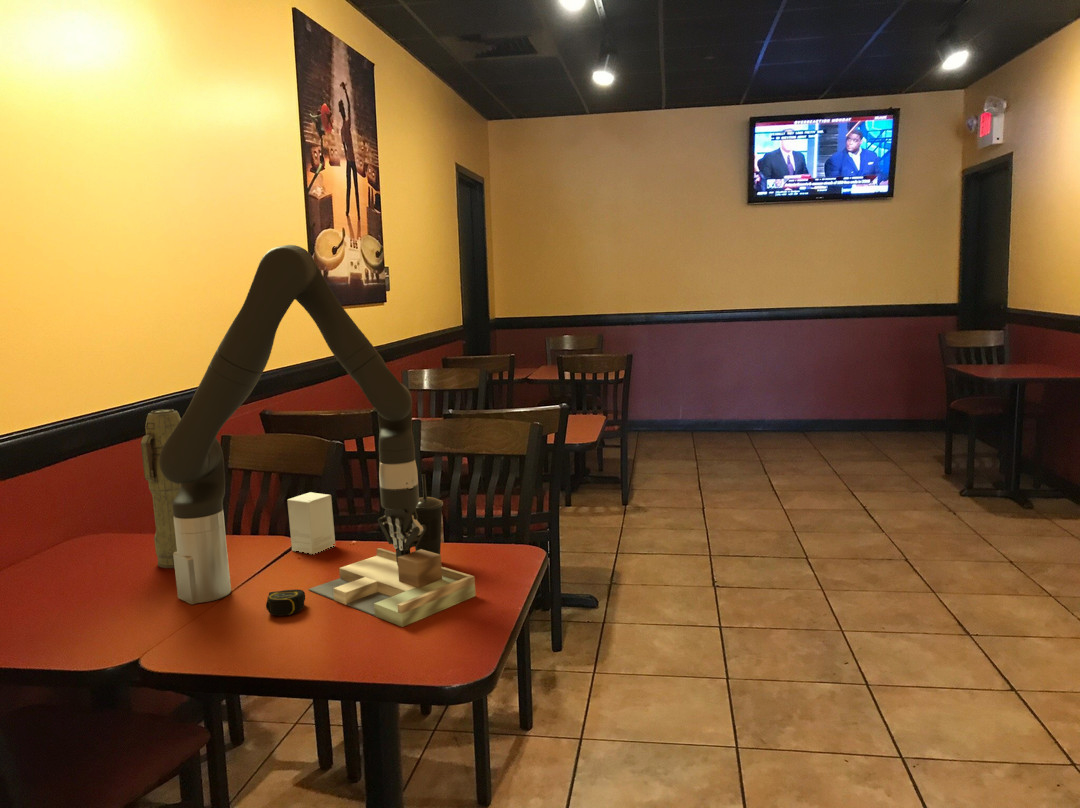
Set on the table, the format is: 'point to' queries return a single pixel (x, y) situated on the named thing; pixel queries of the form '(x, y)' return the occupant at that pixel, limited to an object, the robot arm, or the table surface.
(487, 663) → the table surface
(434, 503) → the drinking cup
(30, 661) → the table surface
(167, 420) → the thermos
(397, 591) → the board
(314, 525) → the supplement box
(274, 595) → the tape measure
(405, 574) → the walnut block
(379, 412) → the robot arm
